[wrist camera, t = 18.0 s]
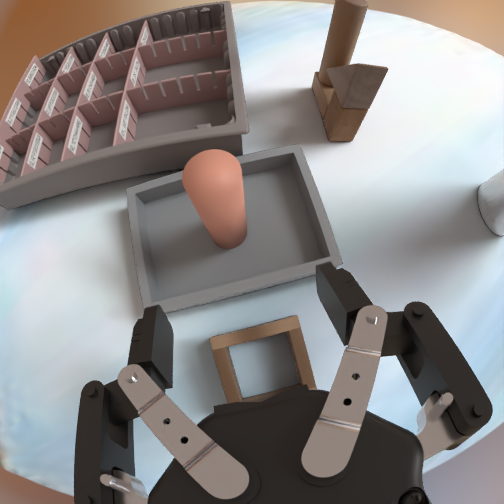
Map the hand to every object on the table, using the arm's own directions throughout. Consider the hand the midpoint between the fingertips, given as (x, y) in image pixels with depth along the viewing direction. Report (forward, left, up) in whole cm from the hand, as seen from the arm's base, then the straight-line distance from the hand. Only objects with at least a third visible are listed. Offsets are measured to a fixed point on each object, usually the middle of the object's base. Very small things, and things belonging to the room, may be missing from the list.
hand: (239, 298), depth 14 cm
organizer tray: (+13, -34, -17) cm, 40 cm away
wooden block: (-18, -22, -17) cm, 33 cm away
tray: (0, -8, -16) cm, 18 cm away
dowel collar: (0, +7, -16) cm, 18 cm away
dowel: (0, -8, -15) cm, 18 cm away
